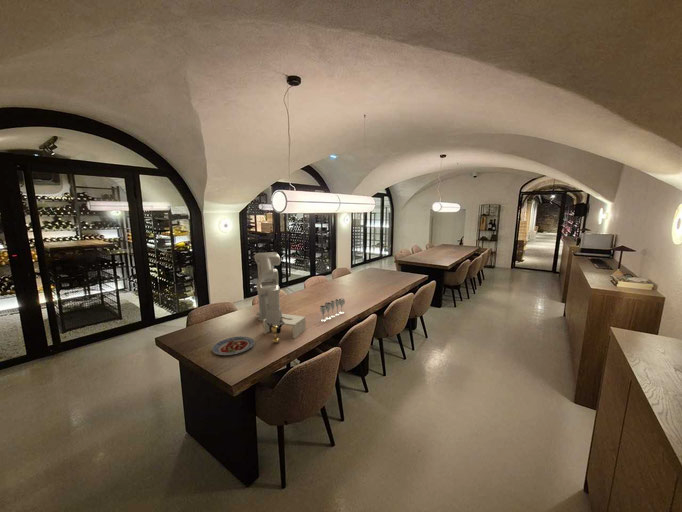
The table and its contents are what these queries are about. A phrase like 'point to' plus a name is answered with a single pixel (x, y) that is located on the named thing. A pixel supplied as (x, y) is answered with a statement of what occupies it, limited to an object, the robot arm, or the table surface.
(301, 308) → the table surface
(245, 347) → the ceramic plate
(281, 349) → the table surface
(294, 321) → the keyhole shelf
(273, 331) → the brass capped stopper
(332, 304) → the goblet set
